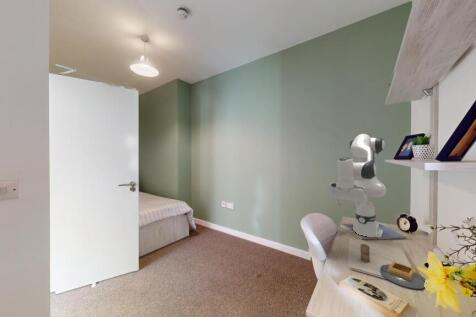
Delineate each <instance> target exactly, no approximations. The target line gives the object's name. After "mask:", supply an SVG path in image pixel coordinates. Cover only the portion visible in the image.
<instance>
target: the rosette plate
mask: <svg viewBox="0 0 476 317" xmlns="http://www.w3.org/2000/svg"><path fill="white" fill-rule="evenodd" d="M379 270H380V271H379V272H380V274H381V276H382V277H383V276H384V279H385V280H387V281H389V282H391V283H393V284H395V285H397V286H399V287H402V288H405V289H409V290H414V291H415V290H418V291H420V290H425V289H426V288H425V287H424V283H425V280H426V278H425V277H424V276H422V275H421V274H420V273H418V272H416V268H414V267H412V266H409V265H406V264H403V263H400V262H398V261H394V260H393V261H392V262H391V263H390V264H387V263H386V264H383V265H381V266H380V268H379Z"/></svg>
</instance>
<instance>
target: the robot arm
mask: <svg viewBox="0 0 476 317" xmlns="http://www.w3.org/2000/svg"><path fill="white" fill-rule="evenodd" d="M385 146H386V144H385V141H384V139H383V138H382V137H371V136H370V135H368V134H367V133H360V134H358V135H357V136H356V137H355V138H354V139H352V140H350V142H349V146H348V147H349V150H350V152H351V154H352V155H353V156H355V157H357V158H359V159H358V162H354V159H353V157H349V156H345V157H340V158H338V159H337V164H336V165H337V166H336V167H337V168H336V170H337V181H334V182H331V183H329V188H328V197H329V198H330V199H334V201H335V202H336V206H337V207H338V208H339V207H342V203H340V200H341V201H348V202H354V204H355V205H354V206H353V209H354V210H355V215H354V216H355V219H353V226H352V228H353V230H354V231H355V232H356V233H357V234H356V233H355V232H354V231H353V230H352V231H353V232H354V233H355V234H356V235H358V234H359V235H358V236H361V235H363V236H362V237H365V236H367V238H382V236H383V233H384V231H383V229H381V228H380V224H379V223H378V221H376V220H377V219H376V217H377V215H376V213H375V206H374V204H373V203H372V202H371V201H369V200H368V197H371V198H383V197H385V195H387V188H386V186H385V184H384V183H382V182H381V181H380V180H379V179H378V177H377V174H378V173H377V172H378V171H377V156H376V155H379V153H381V152H382V151H383V150H384V148H385ZM356 179H365V180H356Z"/></svg>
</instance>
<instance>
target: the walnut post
mask: <svg viewBox="0 0 476 317" xmlns="http://www.w3.org/2000/svg"><path fill="white" fill-rule="evenodd" d="M370 258H371V257H370V246H369V245H368V244H364V243H361V244H360V260H361V262H363V261H364V263H370V262H371V260H370Z"/></svg>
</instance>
